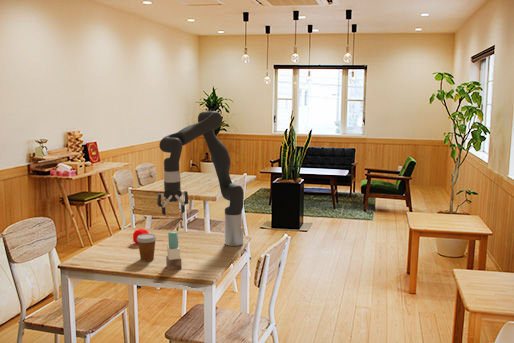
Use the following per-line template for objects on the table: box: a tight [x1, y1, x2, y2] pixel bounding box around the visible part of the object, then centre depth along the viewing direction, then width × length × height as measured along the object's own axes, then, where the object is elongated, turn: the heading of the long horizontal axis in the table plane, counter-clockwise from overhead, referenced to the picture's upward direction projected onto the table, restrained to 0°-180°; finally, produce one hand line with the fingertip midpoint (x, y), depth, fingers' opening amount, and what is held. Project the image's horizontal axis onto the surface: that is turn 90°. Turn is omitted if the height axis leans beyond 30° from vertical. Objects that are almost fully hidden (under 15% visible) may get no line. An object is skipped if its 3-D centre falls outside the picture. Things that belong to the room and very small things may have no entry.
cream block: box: [166, 245, 181, 260], centre depth 240 cm, size 5×5×5 cm
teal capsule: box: [167, 231, 179, 248], centre depth 240 cm, size 4×4×7 cm
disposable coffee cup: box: [137, 233, 157, 262], centre depth 252 cm, size 10×10×12 cm
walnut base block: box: [165, 255, 182, 271], centre depth 241 cm, size 6×6×5 cm
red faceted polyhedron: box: [132, 228, 150, 245], centre depth 278 cm, size 8×8×8 cm
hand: (173, 213), depth 239 cm, fingers open, 8 cm apart
